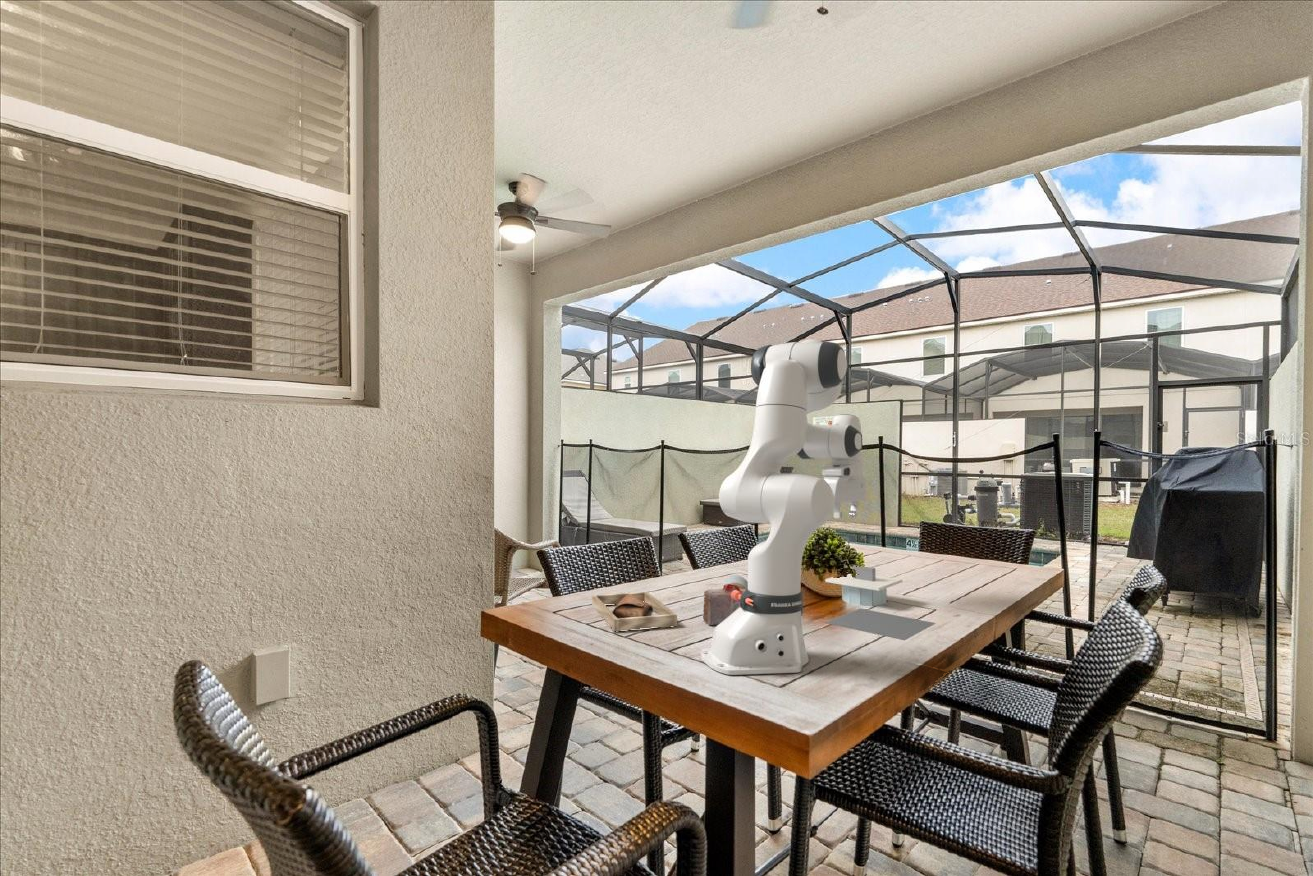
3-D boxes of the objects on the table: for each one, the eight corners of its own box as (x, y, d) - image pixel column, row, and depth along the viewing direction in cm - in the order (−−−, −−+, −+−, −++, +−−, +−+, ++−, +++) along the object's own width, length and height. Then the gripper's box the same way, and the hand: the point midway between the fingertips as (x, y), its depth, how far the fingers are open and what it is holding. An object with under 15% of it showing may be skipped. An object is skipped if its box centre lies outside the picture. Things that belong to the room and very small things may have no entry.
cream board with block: (879, 590, 163) (878, 575, 163) (825, 581, 174) (825, 567, 175) (902, 582, 175) (902, 567, 175) (850, 574, 186) (850, 560, 186)
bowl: (859, 609, 167) (859, 587, 167) (834, 599, 178) (834, 579, 179) (895, 606, 171) (895, 585, 171) (868, 596, 182) (868, 576, 182)
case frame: (614, 632, 143) (614, 619, 143) (592, 606, 168) (592, 595, 168) (677, 627, 148) (677, 615, 148) (646, 602, 173) (646, 591, 173)
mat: (904, 642, 137) (904, 640, 137) (824, 625, 151) (824, 622, 151) (935, 625, 151) (935, 623, 151) (860, 610, 165) (860, 608, 165)
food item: (752, 618, 158) (752, 580, 158) (761, 626, 150) (761, 587, 150) (701, 619, 156) (701, 581, 156) (708, 628, 148) (709, 588, 148)
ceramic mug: (722, 607, 168) (722, 580, 168) (723, 600, 176) (723, 574, 176) (760, 610, 166) (760, 582, 166) (759, 602, 174) (760, 576, 175)
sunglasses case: (644, 623, 149) (630, 599, 149) (619, 636, 149) (606, 613, 150) (652, 605, 167) (641, 584, 167) (631, 617, 167) (619, 596, 168)
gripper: (852, 470, 185) (851, 515, 185) (818, 469, 171) (818, 518, 170) (871, 470, 181) (871, 516, 180) (839, 470, 166) (838, 519, 166)
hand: (845, 517), depth 175 cm, fingers open, 8 cm apart
